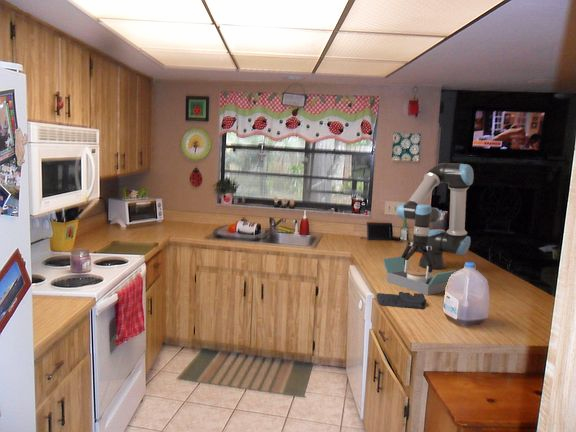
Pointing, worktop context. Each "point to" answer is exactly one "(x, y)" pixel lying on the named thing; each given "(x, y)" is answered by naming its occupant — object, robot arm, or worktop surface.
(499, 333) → the worktop surface
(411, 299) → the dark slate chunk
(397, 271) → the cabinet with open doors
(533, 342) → the worktop surface
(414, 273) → the lidded jar
